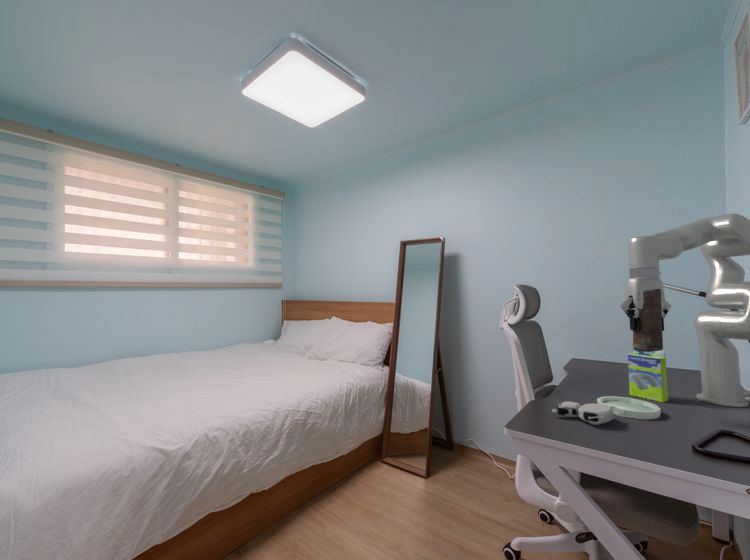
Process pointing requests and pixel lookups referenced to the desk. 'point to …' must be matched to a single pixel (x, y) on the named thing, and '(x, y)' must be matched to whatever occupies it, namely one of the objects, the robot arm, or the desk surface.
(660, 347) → the rusty brown cylinder
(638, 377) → the box
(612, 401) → the dish
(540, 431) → the desk surface
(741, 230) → the robot arm
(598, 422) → the robot toy
